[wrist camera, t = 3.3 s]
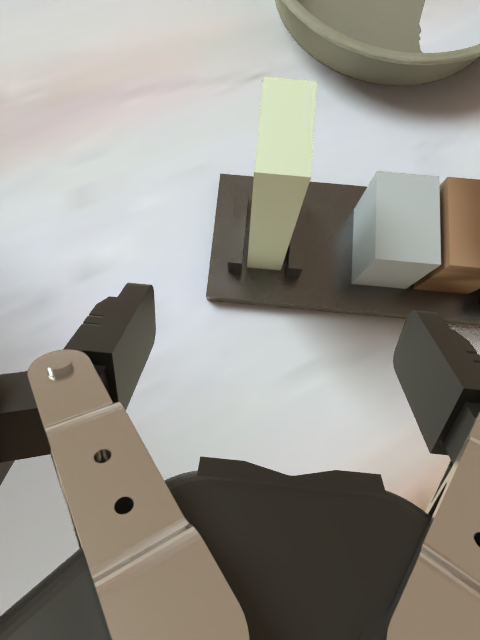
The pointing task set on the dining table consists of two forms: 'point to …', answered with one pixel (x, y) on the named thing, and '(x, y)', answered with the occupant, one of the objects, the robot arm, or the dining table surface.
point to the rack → (313, 261)
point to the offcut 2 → (457, 239)
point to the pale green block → (280, 167)
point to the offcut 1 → (396, 230)
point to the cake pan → (370, 40)
